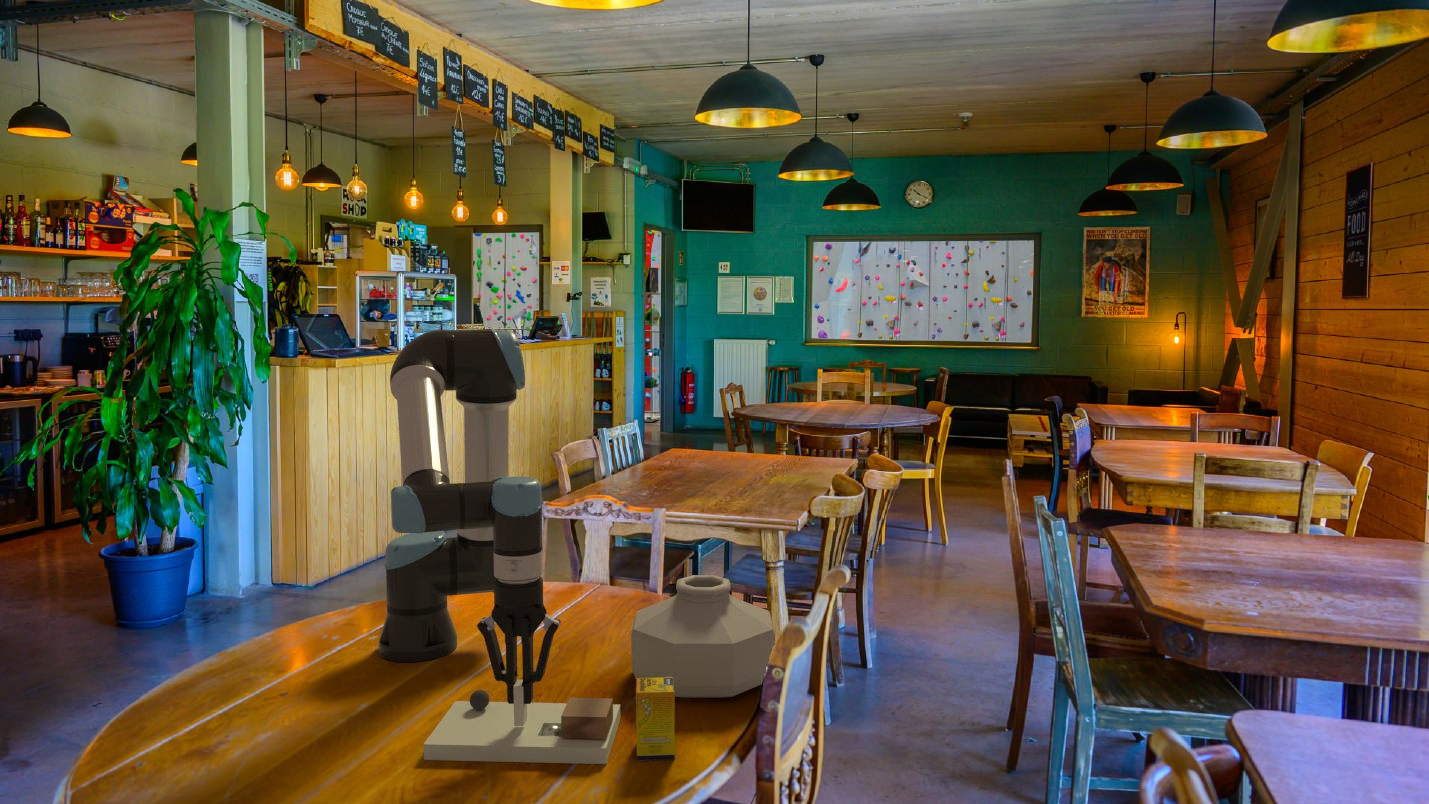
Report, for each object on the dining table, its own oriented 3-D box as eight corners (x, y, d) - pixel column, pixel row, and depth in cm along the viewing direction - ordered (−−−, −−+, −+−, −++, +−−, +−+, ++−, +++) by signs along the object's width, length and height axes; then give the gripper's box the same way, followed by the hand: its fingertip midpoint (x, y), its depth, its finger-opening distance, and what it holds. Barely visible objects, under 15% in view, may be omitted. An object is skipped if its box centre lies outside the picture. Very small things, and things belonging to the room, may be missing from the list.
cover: (561, 738, 149) (561, 716, 148) (569, 718, 155) (569, 697, 155) (606, 739, 148) (606, 717, 148) (613, 719, 155) (612, 698, 155)
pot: (608, 663, 187) (608, 569, 185) (739, 643, 198) (740, 555, 196) (657, 720, 162) (657, 612, 160) (805, 694, 173) (806, 593, 171)
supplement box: (635, 743, 153) (635, 677, 152) (673, 742, 153) (673, 676, 152) (635, 761, 147) (635, 692, 146) (675, 760, 148) (675, 691, 146)
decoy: (467, 713, 158) (466, 694, 158) (473, 704, 161) (472, 686, 161) (486, 713, 158) (486, 694, 158) (491, 705, 161) (491, 686, 161)
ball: (543, 727, 150) (563, 734, 150) (548, 718, 153) (567, 724, 153) (537, 746, 151) (557, 752, 151) (542, 736, 154) (561, 742, 154)
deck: (423, 759, 147) (423, 744, 147) (455, 715, 163) (455, 701, 163) (606, 764, 146) (606, 748, 146) (620, 718, 162) (620, 704, 162)
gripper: (470, 583, 146) (473, 732, 149) (555, 585, 146) (557, 733, 149) (483, 570, 154) (485, 711, 156) (564, 571, 153) (565, 713, 156)
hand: (520, 722), depth 152 cm, fingers closed
